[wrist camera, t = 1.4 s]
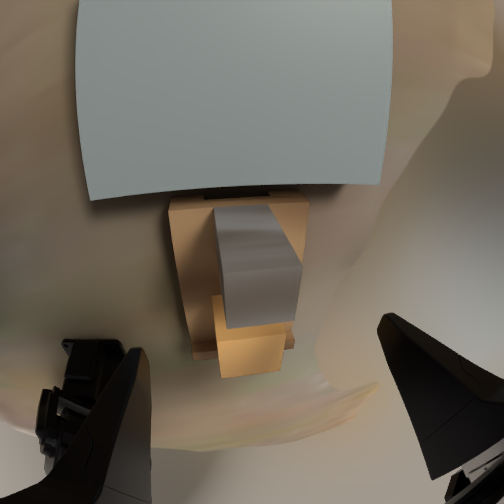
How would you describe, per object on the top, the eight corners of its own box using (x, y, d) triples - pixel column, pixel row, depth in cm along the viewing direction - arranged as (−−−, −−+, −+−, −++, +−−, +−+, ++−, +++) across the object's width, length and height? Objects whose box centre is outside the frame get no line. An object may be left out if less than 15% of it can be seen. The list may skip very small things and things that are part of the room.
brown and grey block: (283, 320, 24) (311, 399, 17) (192, 330, 23) (197, 416, 16) (297, 189, 18) (358, 259, 11) (171, 196, 16) (155, 278, 10)
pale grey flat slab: (355, 169, 17) (379, 185, 15) (106, 182, 15) (90, 200, 12) (362, -18, 10) (388, -29, 7) (103, -26, 7) (87, -43, 5)
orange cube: (267, 328, 21) (280, 370, 18) (216, 334, 20) (221, 378, 17) (270, 289, 19) (286, 333, 16) (211, 295, 18) (216, 341, 15)
